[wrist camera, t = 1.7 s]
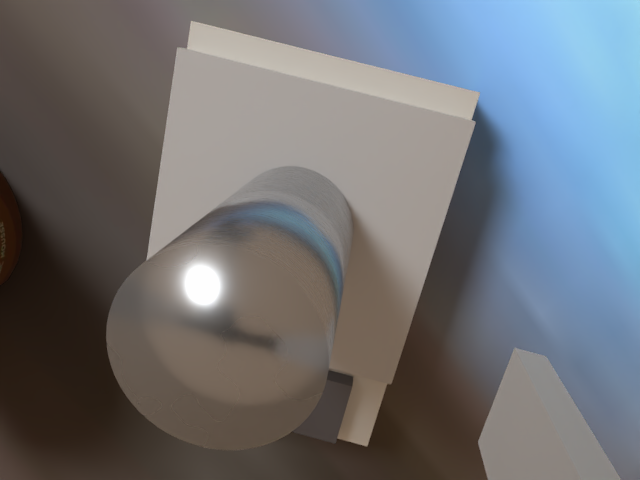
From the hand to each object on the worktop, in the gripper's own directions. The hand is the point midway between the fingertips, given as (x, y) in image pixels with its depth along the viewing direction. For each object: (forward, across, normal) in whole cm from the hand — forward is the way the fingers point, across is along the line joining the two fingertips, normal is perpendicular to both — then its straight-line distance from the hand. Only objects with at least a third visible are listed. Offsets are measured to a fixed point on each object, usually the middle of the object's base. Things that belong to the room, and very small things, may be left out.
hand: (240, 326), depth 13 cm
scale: (+12, 0, -1) cm, 12 cm away
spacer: (+8, 0, 0) cm, 8 cm away
